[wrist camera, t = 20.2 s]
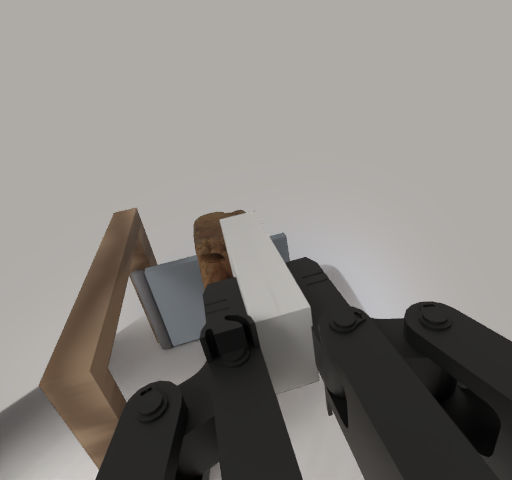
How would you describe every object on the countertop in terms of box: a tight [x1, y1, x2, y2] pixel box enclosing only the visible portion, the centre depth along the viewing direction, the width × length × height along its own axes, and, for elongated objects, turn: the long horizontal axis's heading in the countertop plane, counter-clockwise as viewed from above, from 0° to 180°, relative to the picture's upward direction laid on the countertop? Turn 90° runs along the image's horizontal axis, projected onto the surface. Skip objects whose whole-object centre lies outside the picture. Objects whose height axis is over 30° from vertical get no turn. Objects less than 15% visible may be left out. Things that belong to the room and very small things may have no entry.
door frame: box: [39, 208, 170, 469], centre depth 37 cm, size 3×28×20 cm, turn 13°
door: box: [131, 233, 290, 349], centre depth 48 cm, size 21×3×13 cm, turn 103°
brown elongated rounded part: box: [194, 210, 246, 291], centre depth 41 cm, size 11×8×20 cm
